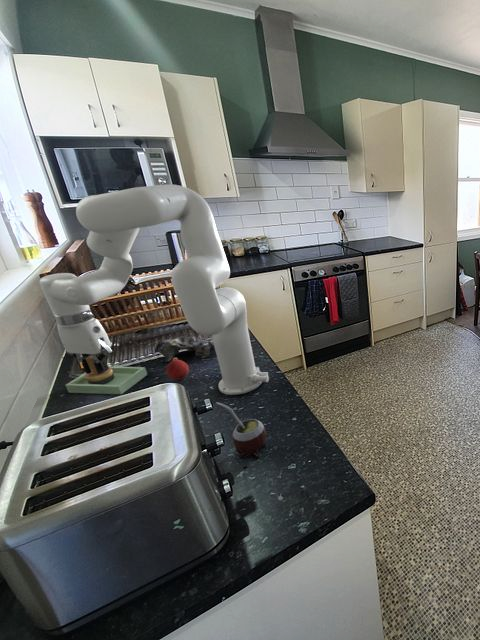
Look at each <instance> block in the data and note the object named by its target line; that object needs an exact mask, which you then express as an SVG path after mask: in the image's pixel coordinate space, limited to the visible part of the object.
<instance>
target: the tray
mask: <svg viewBox="0 0 480 640" xmlns="http://www.w3.org/2000/svg"><path fill="white" fill-rule="evenodd" d="M108 367H110V368H112V370H113V375H114V379H113V380H112V381H110V382H109V383H106V384H104V385H96V384H89V383H88V381H86V379H85V377H84V376H85V374H86V372H84V373H82V374H81V375H79V376H78V377H75V378H74V379H73V380H71V381H69V382H67V383H66V384H64V386H65V388H66V390H67V392H68V393H69V394H96V395H98V394H100V395H123V394H124V393H125V392H126V391H128V390H129V389H131V388H132V387H133V386H134V385H136V384H137V383H138V382H140V381H141V380H143V379H144V378H145V377H146V376H148V372H147V368H146V367H145V366H143V367H142V366H115V365H114V366H113V365H112V366H110V365H108Z"/></svg>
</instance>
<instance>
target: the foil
mask: <svg viewBox="0 0 480 640" xmlns="http://www.w3.org/2000/svg"><path fill="white" fill-rule="evenodd" d="M213 347H214V343H213V338H212V339H211V340H209V341H208V343H205V341H204V340H202V339H200V338H197V339H196V340H194V338H192V336H191V335H189V336H188V337H185V336H183V335H180V336H178V337H175V338H172V339H166V340H163V341H161V342H158V343H157V345H156V346H155V348H154V352H155V353H157V354H161V355H162V356H163V357H164V358H165V359H164V363H169V362H171V361H172V360H173V358H174V356H175V355H177V354H179V353H180V351H181V350H187V351H188V352H192V351H194V354H195V356H200V357H205V358H206V357H207V358H208V357H210V353H211V349H212V348H213Z"/></svg>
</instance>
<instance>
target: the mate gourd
mask: <svg viewBox="0 0 480 640" xmlns="http://www.w3.org/2000/svg"><path fill="white" fill-rule="evenodd" d="M215 404H216V405H218V406H220V407H222V408H224V409H226V410H227V411H228V413H229V414H230V415H232V417H233V418H234V419H235V421H236V422H237V425H236V426H235V428H234V429H233V431H232V443H233V445H234V448H235V450H236V452H237V453H238V454H239V456H238V457H239V459H244V458H246V457H248V456H250V455H252V456H253V457H254V458H255V460H259V459H260V458H261V457H260V455H259V451H260V450H262V449H264V448H266V447H267V442H266V439H267V429H266V427H265V426H264V424H263V423H262V422H261V421H260V420H258V419H256V418H249V419H245V420H243V421H241V420H240V419H239V417H238V416H237V414H236V413H235V412H234V410H233V409H232V408H231V407H230V406H227V404H224V403H222V402H218V401H216V402H215ZM243 453H244V454H243ZM254 453H255V454H256V455H257V454H258V455H257V456H256V455H255V454H254ZM241 454H242V455H241Z"/></svg>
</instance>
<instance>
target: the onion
mask: <svg viewBox="0 0 480 640" xmlns="http://www.w3.org/2000/svg"><path fill="white" fill-rule="evenodd" d="M189 367H190V366H189V365H188V363H187V362H185V361H183V360H181V359H178V357H172V359H171V360H170V361H169V362H168V364H167V366H166V369H165V373H166V376H167V377H168V378H170V379H171V380H175V381H183V379H184V378H185V377H187V375H188V374H189V372H190V368H189Z"/></svg>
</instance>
